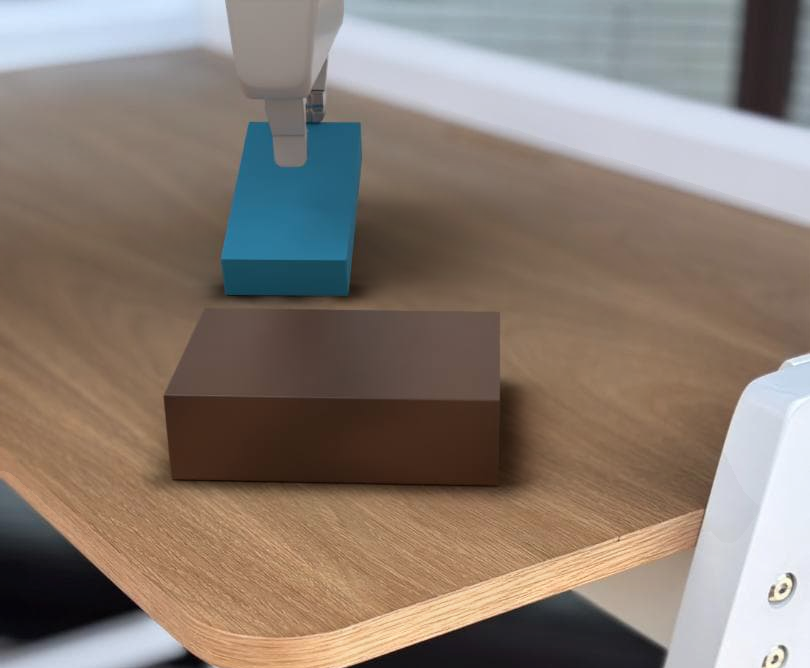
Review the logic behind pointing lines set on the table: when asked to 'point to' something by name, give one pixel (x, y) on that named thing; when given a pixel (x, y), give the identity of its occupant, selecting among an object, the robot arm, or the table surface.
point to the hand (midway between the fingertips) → (302, 141)
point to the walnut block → (337, 397)
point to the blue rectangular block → (294, 215)
